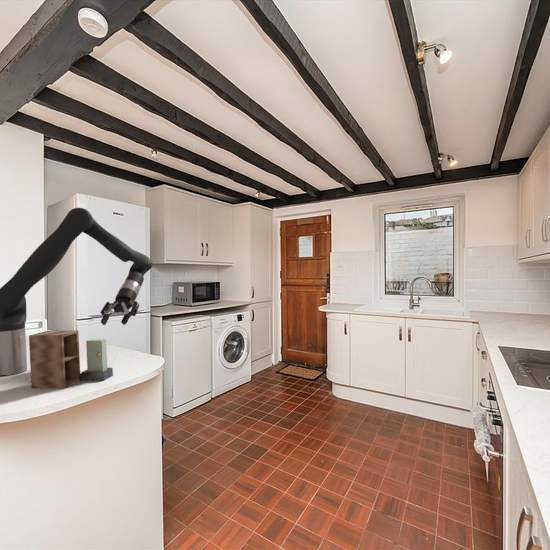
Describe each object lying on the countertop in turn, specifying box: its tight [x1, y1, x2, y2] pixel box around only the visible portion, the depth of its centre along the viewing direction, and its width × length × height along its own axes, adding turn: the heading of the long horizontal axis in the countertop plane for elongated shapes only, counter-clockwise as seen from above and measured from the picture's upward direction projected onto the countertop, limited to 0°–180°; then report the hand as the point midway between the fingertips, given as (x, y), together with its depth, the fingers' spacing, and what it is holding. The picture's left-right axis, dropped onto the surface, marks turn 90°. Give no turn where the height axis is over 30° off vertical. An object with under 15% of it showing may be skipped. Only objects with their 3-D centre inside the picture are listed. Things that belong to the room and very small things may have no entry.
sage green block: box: [85, 338, 108, 372], centre depth 112 cm, size 6×4×14 cm, turn 84°
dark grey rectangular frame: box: [79, 367, 114, 381], centre depth 112 cm, size 9×5×3 cm, turn 84°
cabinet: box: [28, 330, 81, 389], centre depth 107 cm, size 12×8×18 cm, turn 84°
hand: (113, 323), depth 122 cm, fingers open, 8 cm apart
